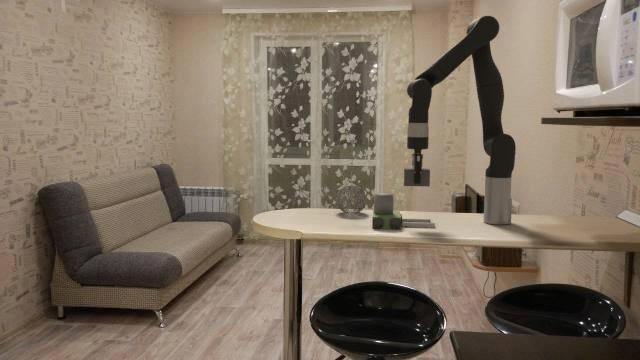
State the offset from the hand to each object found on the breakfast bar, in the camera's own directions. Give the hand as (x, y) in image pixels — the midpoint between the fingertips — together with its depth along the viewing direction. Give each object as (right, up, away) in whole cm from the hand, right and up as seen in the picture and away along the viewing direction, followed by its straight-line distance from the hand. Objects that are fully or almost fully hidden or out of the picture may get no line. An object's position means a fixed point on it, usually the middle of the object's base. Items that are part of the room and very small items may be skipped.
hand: (416, 182), depth 193 cm
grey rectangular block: (0, -1, 0) cm, 1 cm away
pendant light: (-22, -13, +26) cm, 36 cm away
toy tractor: (-6, -15, +2) cm, 17 cm away
